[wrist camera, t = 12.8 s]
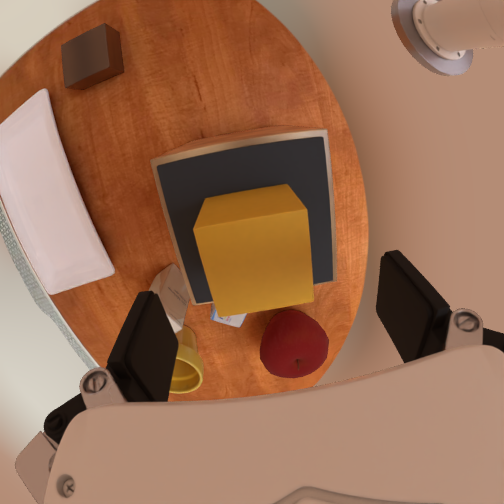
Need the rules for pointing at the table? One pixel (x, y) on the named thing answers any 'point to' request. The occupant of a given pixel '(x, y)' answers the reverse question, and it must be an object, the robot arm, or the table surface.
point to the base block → (92, 57)
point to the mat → (247, 178)
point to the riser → (239, 141)
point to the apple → (293, 345)
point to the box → (172, 294)
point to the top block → (255, 250)
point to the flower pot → (187, 363)
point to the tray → (47, 200)
